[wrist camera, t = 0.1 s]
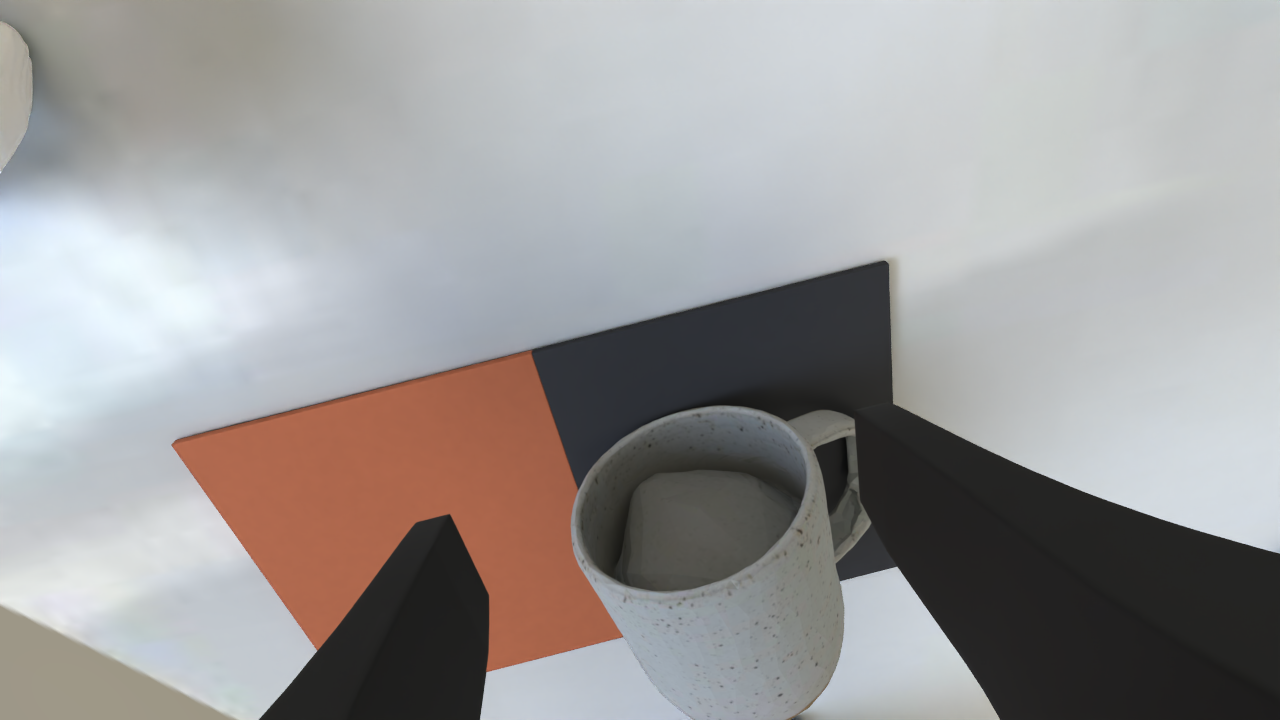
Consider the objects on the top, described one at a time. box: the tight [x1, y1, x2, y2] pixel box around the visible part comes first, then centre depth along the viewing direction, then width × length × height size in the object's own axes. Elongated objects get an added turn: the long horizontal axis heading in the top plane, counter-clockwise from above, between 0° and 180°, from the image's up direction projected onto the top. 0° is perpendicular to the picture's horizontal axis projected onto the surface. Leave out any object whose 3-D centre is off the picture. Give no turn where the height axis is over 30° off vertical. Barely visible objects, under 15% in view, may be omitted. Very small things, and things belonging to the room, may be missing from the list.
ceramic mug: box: [571, 405, 871, 720], centre depth 20 cm, size 11×8×8 cm
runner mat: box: [172, 261, 897, 672], centre depth 23 cm, size 14×24×1 cm, turn 103°
